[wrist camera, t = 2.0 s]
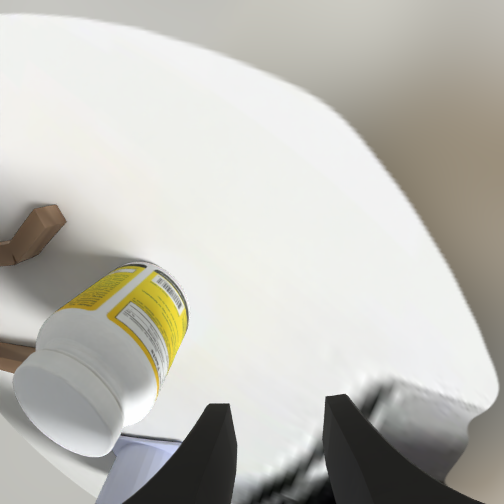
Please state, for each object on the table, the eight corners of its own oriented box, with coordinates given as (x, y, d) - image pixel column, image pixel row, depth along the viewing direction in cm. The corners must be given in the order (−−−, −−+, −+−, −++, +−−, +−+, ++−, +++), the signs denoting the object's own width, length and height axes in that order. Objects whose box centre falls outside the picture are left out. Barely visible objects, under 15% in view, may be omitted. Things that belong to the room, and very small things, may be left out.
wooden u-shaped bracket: (111, 389, 21) (99, 408, 18) (0, 367, 22) (-13, 379, 19) (64, 202, 17) (42, 206, 15) (-41, 229, 18) (-58, 235, 16)
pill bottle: (101, 325, 19) (10, 422, 9) (114, 245, 18) (-11, 315, 7) (180, 358, 20) (126, 487, 9) (204, 279, 18) (140, 400, 8)
